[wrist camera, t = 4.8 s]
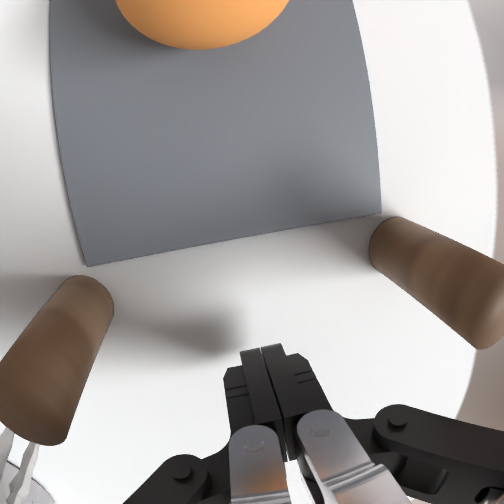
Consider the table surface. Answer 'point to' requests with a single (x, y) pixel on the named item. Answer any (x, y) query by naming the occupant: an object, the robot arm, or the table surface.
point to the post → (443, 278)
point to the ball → (200, 20)
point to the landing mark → (210, 129)
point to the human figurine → (22, 480)
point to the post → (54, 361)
